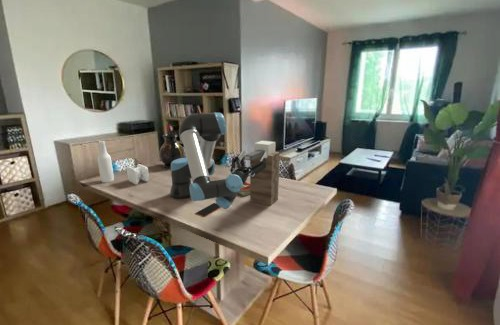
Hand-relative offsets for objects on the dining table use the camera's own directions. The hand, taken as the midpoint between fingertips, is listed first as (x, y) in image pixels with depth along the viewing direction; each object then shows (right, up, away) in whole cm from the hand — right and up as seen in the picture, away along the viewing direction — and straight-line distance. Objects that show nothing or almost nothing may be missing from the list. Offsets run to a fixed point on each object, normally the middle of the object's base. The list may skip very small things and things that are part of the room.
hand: (255, 152), depth 143 cm
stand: (+6, -29, +19) cm, 35 cm away
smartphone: (-26, -33, +6) cm, 42 cm away
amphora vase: (-71, -9, +91) cm, 116 cm away
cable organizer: (-85, -20, +52) cm, 102 cm away
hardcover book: (-9, -24, +36) cm, 44 cm away
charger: (+2, -1, +4) cm, 5 cm away
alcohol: (-109, -19, +53) cm, 123 cm away
